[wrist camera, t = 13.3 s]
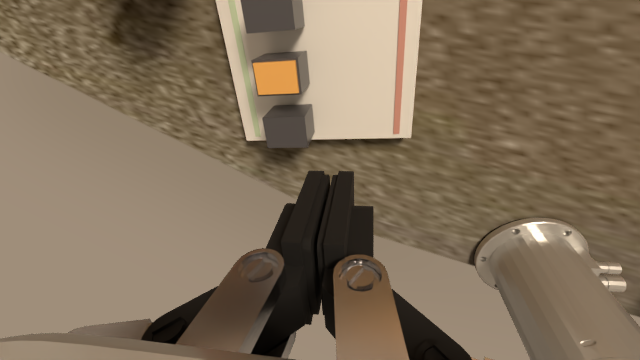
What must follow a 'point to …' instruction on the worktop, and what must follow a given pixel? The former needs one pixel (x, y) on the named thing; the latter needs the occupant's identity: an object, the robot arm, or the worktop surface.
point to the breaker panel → (326, 67)
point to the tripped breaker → (281, 73)
